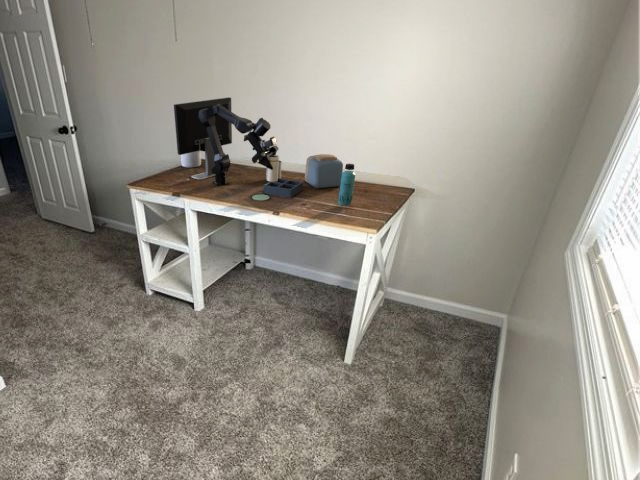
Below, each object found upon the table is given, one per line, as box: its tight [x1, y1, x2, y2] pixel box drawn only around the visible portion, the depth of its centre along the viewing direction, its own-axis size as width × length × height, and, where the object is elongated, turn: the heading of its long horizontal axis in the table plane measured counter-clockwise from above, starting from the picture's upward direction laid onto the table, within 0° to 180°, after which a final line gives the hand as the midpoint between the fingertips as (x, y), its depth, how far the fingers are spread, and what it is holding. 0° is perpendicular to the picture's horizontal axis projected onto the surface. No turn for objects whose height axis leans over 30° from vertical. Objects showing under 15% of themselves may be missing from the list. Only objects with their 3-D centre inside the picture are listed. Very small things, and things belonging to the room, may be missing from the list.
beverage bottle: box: [337, 163, 357, 207], centre depth 195 cm, size 6×7×20 cm
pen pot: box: [266, 154, 280, 182], centre depth 211 cm, size 6×6×12 cm
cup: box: [265, 160, 283, 181], centre depth 237 cm, size 8×8×10 cm
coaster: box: [251, 194, 270, 201], centre depth 212 cm, size 9×9×1 cm
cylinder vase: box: [180, 151, 202, 169], centre depth 261 cm, size 12×12×25 cm
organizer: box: [263, 177, 304, 199], centre depth 219 cm, size 15×15×4 cm
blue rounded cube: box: [304, 153, 344, 190], centre depth 227 cm, size 16×16×16 cm
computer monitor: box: [173, 96, 233, 180], centre depth 238 cm, size 41×8×40 cm, turn 136°
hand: (275, 168), depth 210 cm, fingers closed on pen pot, 5 cm apart
